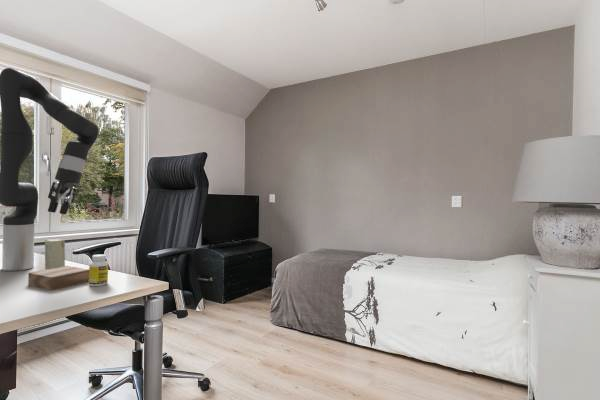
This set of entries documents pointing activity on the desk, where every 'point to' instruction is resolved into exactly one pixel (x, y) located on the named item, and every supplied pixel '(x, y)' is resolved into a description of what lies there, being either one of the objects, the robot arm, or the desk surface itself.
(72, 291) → the desk surface
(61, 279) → the walnut plinth
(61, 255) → the skincare box
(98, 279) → the supplement bottle
